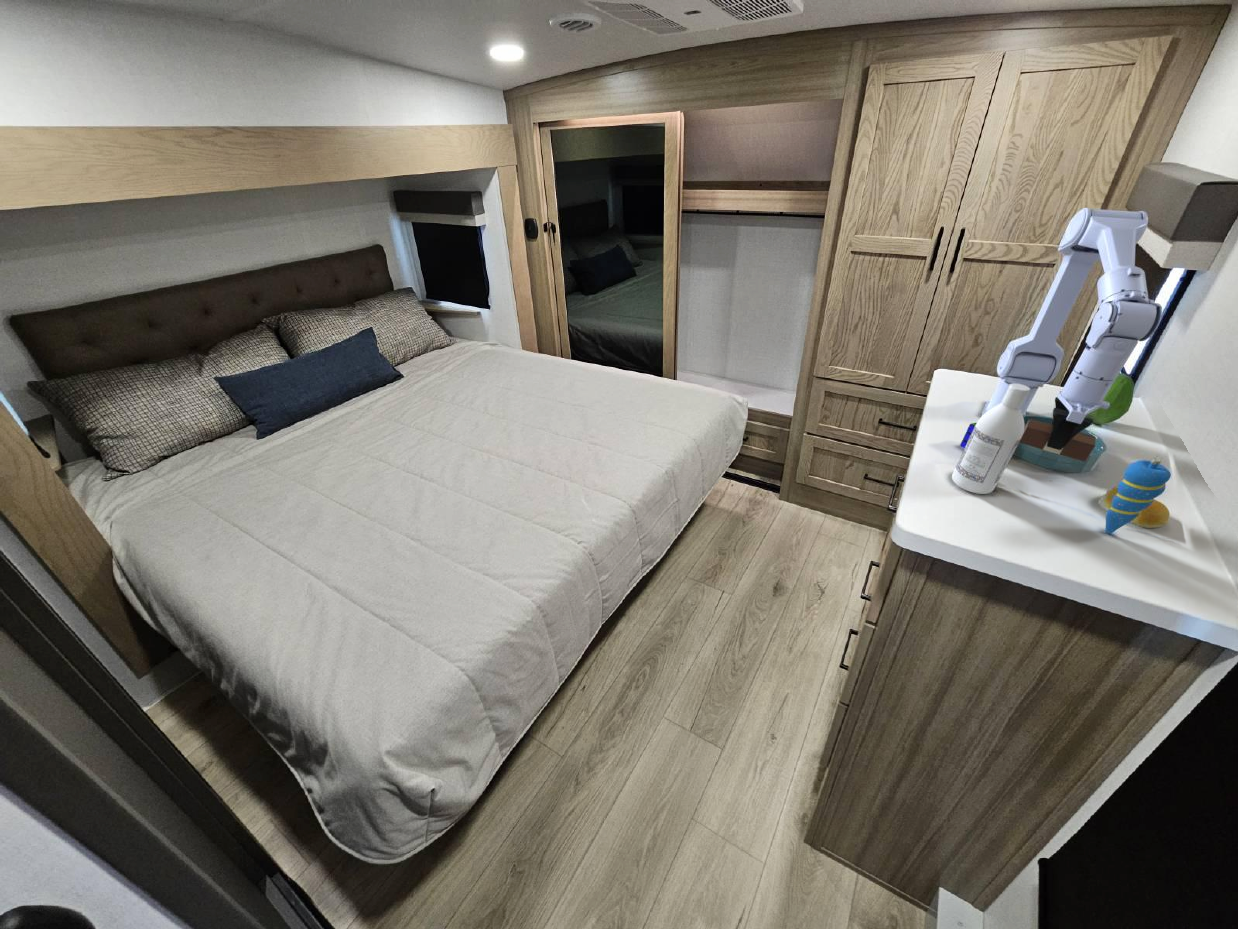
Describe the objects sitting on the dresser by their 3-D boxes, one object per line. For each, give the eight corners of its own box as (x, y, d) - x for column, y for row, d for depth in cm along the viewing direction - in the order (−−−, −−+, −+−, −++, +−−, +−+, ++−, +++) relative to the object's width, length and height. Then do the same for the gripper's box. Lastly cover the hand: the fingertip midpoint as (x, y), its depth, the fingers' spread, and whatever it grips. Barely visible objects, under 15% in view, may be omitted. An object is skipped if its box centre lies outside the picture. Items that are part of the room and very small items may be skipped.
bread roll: (1158, 537, 85) (1174, 518, 82) (1092, 510, 90) (1105, 492, 88) (1167, 516, 89) (1182, 498, 87) (1103, 492, 95) (1115, 475, 93)
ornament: (1114, 546, 83) (1172, 469, 74) (1080, 526, 87) (1131, 452, 78) (1132, 538, 84) (1191, 462, 76) (1098, 519, 88) (1150, 445, 80)
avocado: (1097, 432, 114) (1128, 382, 107) (1065, 415, 120) (1092, 367, 114) (1125, 428, 116) (1157, 379, 109) (1091, 412, 122) (1120, 365, 115)
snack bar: (1018, 442, 96) (1027, 426, 94) (1021, 434, 99) (1029, 418, 97) (1085, 461, 91) (1095, 445, 89) (1085, 452, 94) (1095, 436, 92)
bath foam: (979, 473, 99) (1027, 378, 88) (1001, 495, 93) (1055, 396, 82) (943, 473, 99) (987, 377, 88) (963, 494, 93) (1012, 395, 82)
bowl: (1004, 425, 116) (1013, 407, 113) (1094, 450, 107) (1106, 431, 105) (994, 454, 105) (1004, 436, 103) (1093, 485, 97) (1106, 465, 94)
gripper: (1125, 395, 80) (1080, 467, 87) (1123, 367, 89) (1082, 434, 97) (1070, 382, 83) (1031, 452, 91) (1073, 356, 93) (1037, 422, 101)
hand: (1054, 442), depth 94 cm, fingers closed on snack bar, 4 cm apart
